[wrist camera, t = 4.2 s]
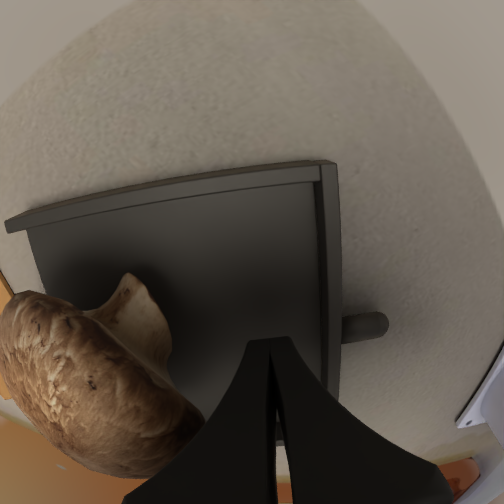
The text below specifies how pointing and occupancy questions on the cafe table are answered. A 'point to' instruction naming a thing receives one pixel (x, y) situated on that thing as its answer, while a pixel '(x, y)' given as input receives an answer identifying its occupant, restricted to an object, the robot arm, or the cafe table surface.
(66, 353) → the mushroom
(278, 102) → the cafe table surface
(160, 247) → the pan
